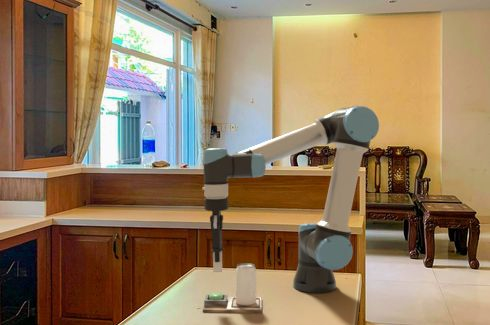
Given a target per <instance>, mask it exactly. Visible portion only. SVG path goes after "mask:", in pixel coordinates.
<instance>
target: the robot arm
mask: <svg viewBox="0 0 490 325" xmlns="http://www.w3.org/2000/svg"><path fill="white" fill-rule="evenodd" d="M379 123H380V122H379V118H378V116H377V115H376V113H375V112H374V111H373V110H372V109H371V108H369V107H367V106H363V105H352V106H350V107H342V108H339V109H336V110H334V111H332V112H330V113H329V114H326V115H324V116H322V117H319V118H316V119H315V120H314V122H313V123H312V124H309V125H307V126H304V127H302V128H299V129H296V130H293V131H290V132H288V133H286V134H283V135H281V136H277V137H275V138H273V139H270V140H267V141H264V142H262V143H260V144H257V145H254V146H251V147H248V148H246V149H244V150H240V151H235V152H233V153H231V154H230V153H228V150H227V148H224V147H223V148H222V147H221V148H219V147H218V148H207V149H205V150H204V152H203V162H202V163H203V185H204V186H202V189H201V190H202V191H204V197H205V198H204V202H203V203H204V210H205V211H208V212H211V215H210V216H209V222H210V230H211V246H212V249H210V252H211V253H212V263H213V264H212V268H213V269H212V270H213V273H223V251H224V250H225V248H224V247H223V227H224V226H223V225H224V222H223V221H224V215H223V214H222V211H228V209H229V198H228V196H229V179H235V178H237V179H239V178H240V179H241V178H253V179H255V178H261V177H263V176H264V175H265V173H266V166H267V165H270V164H272V163H274V162H277V161H279V160H282V159H285V158H288V157H290V156H292V155H296V154H298V153H300V152H303V151H306V150H309V149H311V148H314V147H317V146H319V145H322V146H327V145H329V144H333V145H334V147H335V148H336V152H335V157H334V162H333V165H332V166H333V167H332V172H331V176H330V181H329V186H328V192H327V194H326V195H327V196H326V200H325V205H324V210H323V214H322V219H321V220H319V221H318V222H313V223H312V222H309V223H307V222H306V223H301V224H299V226H298V233H297V234H298V266H297V268H296V272H295V275H294V278H293V284H292V286H293V288H294V289H296V290H298V291H301V292H305V293H314V294H320V293H321V294H322V293H323V294H324V293H329V292H333V291H336V288H337V282H336V281H337V280H336V277H335V274H334V271H337V270H341V269H343V268H344V267H346V266H347V265H348V264H349V263H350V261H351V260H352V258H353V253H354V252H353V251H354V249H353V245H352V243H351V236H352V229H351V227H350V226H349V222H350V217H351V213H352V208H353V203H354V202H353V201H354V197H355V193H356V189H357V183H358V180H359V173H360V169H361V164H362V159H363V156H364V153H365V154H366V152H367V151H369V148H370V144H371V140H374V138H376V136H377V134H378V132H379V128H380V124H379Z"/></svg>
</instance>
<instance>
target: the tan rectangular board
mask: <svg viewBox="0 0 490 325" xmlns="http://www.w3.org/2000/svg"><path fill="white" fill-rule="evenodd" d="M210 294H211V293H207V294H206V295H205V297H204V299H203V300H204V301H203V302H204V303H203V307H202V313H230V314H231V313H238V314H247V313H248V314H262V313H263V312H262V311H263V309H262V308H263V306H262V305H263V302H262V301H263V300H262V299H263V297H261V296H259V297H257V296H256V303H255V304H254V305H251V306H241V305H238V304H237V303H236V296H228V294H227V293H226V294H224V293H222V294H223V300H209V295H210Z"/></svg>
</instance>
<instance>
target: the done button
mask: <svg viewBox="0 0 490 325" xmlns="http://www.w3.org/2000/svg"><path fill="white" fill-rule="evenodd" d="M209 294H210V295H209V300H223V294H224V293H219V292H212V293H209Z"/></svg>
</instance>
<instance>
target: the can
mask: <svg viewBox="0 0 490 325" xmlns="http://www.w3.org/2000/svg"><path fill="white" fill-rule="evenodd" d="M255 266H256V265H255V264H253V263H250V262H249V263H245V262H244V263H238V264H237V265H236V270H235V297H236V303H237V304H238V305H241V306H251V305H254V304H255V303H256V297H257V269H256V267H255Z"/></svg>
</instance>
